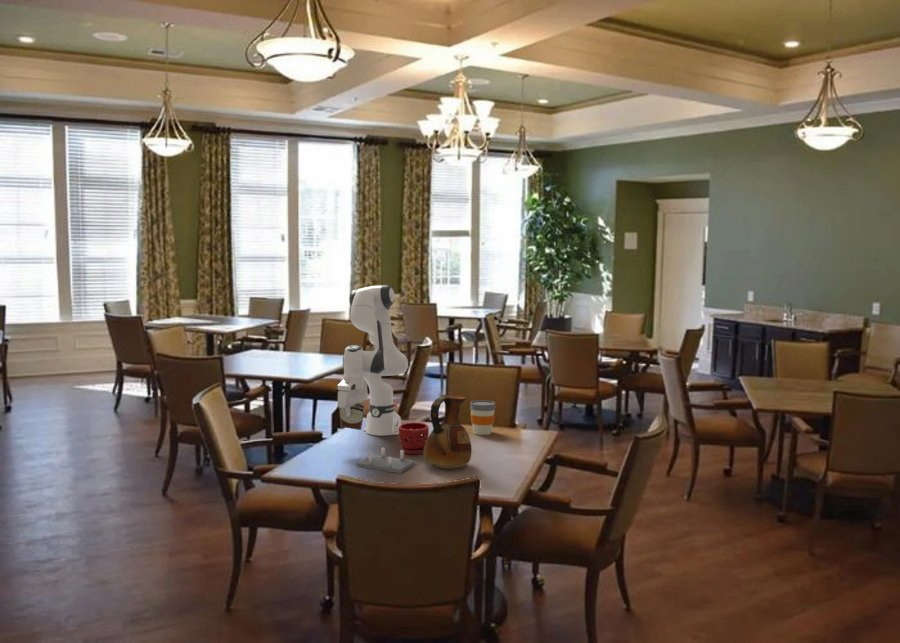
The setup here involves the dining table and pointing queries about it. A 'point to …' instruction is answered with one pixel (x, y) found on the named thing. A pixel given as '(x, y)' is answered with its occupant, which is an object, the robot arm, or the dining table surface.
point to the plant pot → (413, 437)
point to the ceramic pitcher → (447, 436)
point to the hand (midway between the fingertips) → (353, 414)
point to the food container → (352, 417)
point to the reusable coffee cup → (482, 416)
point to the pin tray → (386, 462)
